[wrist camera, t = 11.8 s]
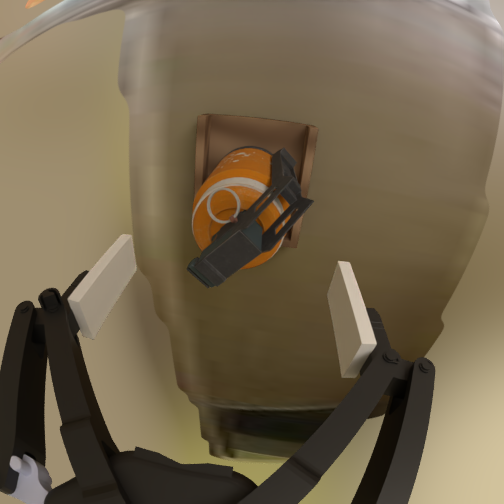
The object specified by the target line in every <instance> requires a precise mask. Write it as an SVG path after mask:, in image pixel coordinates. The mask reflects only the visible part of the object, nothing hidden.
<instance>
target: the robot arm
mask: <svg viewBox="0 0 504 504" xmlns="http://www.w3.org/2000/svg"><path fill="white" fill-rule="evenodd" d="M136 270H137V268H136V261H135V254H134V247H133V240H132V235H126V234H121V236H120V237H119V238H118V239H117V240H116V241H115V242H114V243H113V244H112V246H111V247H110V248H109V249H108V250H107V251H106V252H105V254H104V255H103V256H102V257H101V258H100V259H99V261H98V262H97V263H96V264H95V265H94V266H93V268H92V269H91V270H90V271H87V270H86V271H84V272H83V273H81V274H79V275H78V277H77V278H76V279H75V280H74V282H73V283H72V284H71V286H69V288H68V289H67V290H66V291H65V293H64V294H63V295H62V296H60V293H59V291H58V290H57V289H56V288H49V289H46V290H44V291H43V292H42V293H41V294H40V295H39V298H38V300H39V303H40V305H41V307H42V308H35V307H34V305H33V303H32V302H31V301H24V302H22V303H20V304H19V305H18V306H17V307H16V310H15V312H14V316H13V319H12V323H11V326H10V330H9V334H8V337H7V342H6V346H5V350H4V355H3V360H2V365H1V370H0V491H1V492H3V493H5V494H7V495H9V496H12V497H14V498H17V499H19V500H21V501H23V502H25V503H27V504H298V503H299V502H300V501H301V500H302V499H303V498H304V497H305V496H306V495H307V494H308V493H309V492H310V491H311V490H312V489H313V488H314V487H315V485H316V484H317V483H318V482H319V480H320V479H321V477H322V475H323V474H324V473H325V472H326V471H327V470H328V468H329V467H330V466H331V465H332V464H333V463H334V461H335V460H336V459H337V458H338V457H339V455H340V454H341V453H342V452H343V450H344V449H345V448H346V446H347V445H348V444H349V443H350V441H351V440H352V438H353V437H354V436H355V435H356V433H357V432H358V430H359V429H360V427H361V426H362V425H363V424H364V422H365V421H366V419H367V418H368V416H369V415H370V413H371V412H372V410H373V409H374V407H375V406H376V404H377V403H378V401H379V400H380V398H381V396H382V395H383V394H385V395H389V396H390V399H389V403H388V406H387V410H386V413H385V417H384V420H383V424H382V426H381V430H380V433H379V436H378V439H377V442H376V445H375V447H374V450H373V453H372V456H371V458H370V461H369V463H368V466H367V468H366V471H365V473H364V476H363V478H362V480H361V483H360V485H359V487H358V490H357V492H356V494H355V496H354V498H353V500H352V503H351V504H408V501H409V498H410V495H411V492H412V489H413V486H414V483H415V479H416V476H417V472H418V469H419V465H420V461H421V457H422V453H423V449H424V444H425V440H426V435H427V430H428V424H429V418H430V412H431V405H432V398H433V390H434V379H435V367H434V365H433V363H432V362H431V361H430V360H428V359H427V358H423V357H421V358H418V359H417V360H415V362H414V363H413V362H410V361H406V360H403V359H401V357H400V355H399V354H398V352H396V351H395V350H394V349H391V347H390V344H389V341H388V338H387V335H386V332H385V329H384V326H383V323H382V320H381V318H380V315H379V314H378V312H377V311H376V310H375V309H374V308H365V305H364V302H363V299H362V296H361V293H360V290H359V287H358V284H357V282H356V279H355V276H354V273H353V271H352V268H351V265H350V263H349V262H344V261H338V263H337V266H336V269H335V272H334V275H333V278H332V281H331V285H330V288H329V291H328V294H327V297H328V302H329V307H330V312H331V317H332V322H333V328H334V333H335V339H336V344H337V350H338V356H339V362H340V368H341V375H342V378H356V376H357V375H358V373H359V372H360V375H361V377H360V379H359V380H358V381H357V383H356V384H355V385H354V387H353V388H352V389H351V390H350V392H349V393H348V394H347V396H346V397H345V398H344V399H343V401H342V402H341V403H340V404H339V405H338V407H337V408H336V409H335V410H334V411H333V413H332V414H331V415H330V416H329V417H328V418H327V420H326V421H325V422H324V423H323V424H322V425H321V426H320V428H319V429H318V430H317V431H316V432H315V433H314V434H313V435H312V436H311V437H310V438H309V440H308V441H307V442H306V443H305V444H304V445H303V446H302V447H301V448H300V449H299V450H298V451H297V452H296V453H295V454H294V455H293V456H292V457H291V458H289V459H288V460H287V461H286V462H285V463H284V464H283V465H282V466H281V467H280V468H279V469H278V470H277V471H276V472H274V473H273V474H272V475H271V476H270V477H269V478H268V479H267V480H265V481H264V482H263V483H262V484H261V485H260V486H257V485H256V484H255V483H254V482H253V481H252V480H250V479H249V478H247V477H245V476H244V475H242V474H240V473H238V472H235V471H233V467H230V466H222V465H215V464H209V463H207V464H180V463H178V462H175V461H173V460H172V459H169V458H167V457H165V456H163V455H162V454H160V453H157V452H153V451H150V450H146V449H143V448H139V447H136V448H135V451H124V452H120V451H119V450H118V448H117V446H116V445H115V443H114V442H113V440H112V438H111V436H110V433H109V431H108V429H107V426H106V424H105V421H104V419H103V416H102V413H101V411H100V408H99V405H98V403H97V400H96V397H95V394H94V391H93V388H92V385H91V382H90V379H89V375H88V372H87V369H86V365H85V362H84V358H83V354H82V351H81V346H80V342H79V338H78V336H77V333H78V331H79V330H80V331H81V333H82V336H83V337H86V338H90V339H94V338H95V337H96V335H97V333H98V332H99V330H100V328H101V326H102V325H103V323H104V321H105V319H106V318H107V316H108V315H109V313H110V311H111V310H112V308H113V306H114V305H115V303H116V302H117V300H118V298H119V297H120V295H121V294H122V292H123V290H124V289H125V287H126V285H127V284H128V283H129V281H130V280H131V278H132V276H133V275H134V273H135V272H136ZM47 358H48V359H49V365H50V371H51V376H52V382H53V387H54V392H55V396H56V400H57V404H58V409H59V412H60V416H61V420H62V426H61V427H60V432H61V436H62V439H63V442H64V445H65V448H66V451H67V454H68V457H69V460H70V462H71V465H72V468H73V470H74V473H75V475H76V477H74V478H72V479H71V480H69V481H67V482H65V483H63V484H61V485H59V486H57V487H55V488H54V489H52V488H51V484H52V479H51V477H50V476H49V473H48V471H47V469H46V468H45V460H46V451H45V450H46V448H45V428H44V427H45V425H44V404H45V402H44V401H45V381H46V368H47Z"/></svg>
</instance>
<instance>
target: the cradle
mask: <svg viewBox="0 0 504 504" xmlns="http://www.w3.org/2000/svg"><path fill="white" fill-rule="evenodd" d="M317 135H318V128H316V127H315V126H312V125H306V124H300V123H294V122H287V121H280V120H272V119H264V118H254V117H244V116H232V115H217V114H203V115H199V116H198V120H197V137H196V157H195V185H194V199H195V197H196V194H197V192H198V191H199V189H200V188H201V186H202V185H203V184H204V182H205V181H206V180H207V178H208V177H209V176H210V174H211V173H212V172H213V170H214V169H215V168H216V167H217V165H218V164H219V163H220V161H221V160H222V159H223V158H224V157H225V156H226V155H227V154H228V153H229V152H231V151H232V150H234V149H236V148H239V147H244V146H257V147H261V148H264V149H266V150H268V151H269V152H271V153H272V154H274V153H276V152H277V151H279V150H280V149H282V148H285V149H286V150H287V152H288V153H289V154H290V155H291V156H292V157H293V158H294V160H295V161H296V162H297V163H296V165H295V166H294V171H295V174H296V178H297V181H298V183H299V184H300V187H301V190H302V192H301V195H302V197H304V198H307V193H308V188H309V182H310V177H311V171H312V165H313V159H314V154H315V148H316V141H317ZM289 206H290V205H289ZM297 210H298V209H295V210H294V211H293V212H292V213H291V215H290V218H291V217H292V215H293V214H294V213H295V212H296V211H297ZM302 219H303V215H302V216H301V217H300V218H299V219H298V220H297V222H296V223H295V224H294V225H293V226H292V227H291V228H290V230H289V231H288V232H287V233H286V235H285V237H284V239H283V242H282V244H281V246H283V247H291V248H297V244H298V239H299V234H300V229H301V224H302Z"/></svg>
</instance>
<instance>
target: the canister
mask: <svg viewBox="0 0 504 504" xmlns="http://www.w3.org/2000/svg"><path fill="white" fill-rule="evenodd" d="M296 163H297V162H296V161H295V160H294V158H293V157H292V156H291V155H290V154H289V153H288V152H287V150H286V149H285V148H282V149H280V150H279V151H277V152H276V153H274V154H272V153H271V152H269V151H268V150H266V149H264V148H261V147H257V146H244V147H239V148H236V149H234V150H232V151H231V152H229V153H228V154H227V155H226V156H225V157H224V158H223V159H222V160H221V161H220V163H219V164H218V165H217V167H216V168H215V169H214V170H213V172H212V173H211V174H210V176H209V177H208V178H207V180H206V181H205V182H204V184H203V185H202V186H201V188H200V189H199V191H198V192H197V194H196V197H195V199H194V203H193V212H192V214H193V216H192V232H193V235H194V238H195V240H196V242H197V244H198V246H199V248H200V249H201V251H202V254H201V256H200V258H198V257H197V258H194V259H193V260H192V261H191V262H190V263H189V265H188V267H187V270H188V271H189V272H190V273H191V274H192V275H193V276H194V277H196V278H197V279H198V280H199V281H200V282H201V283H202V284H204V285H205V286H206V287H207V288H209V286H210V287H211V288H212V287H214V286H219V285H220V284H222V283H223V282H224V281H225V280H226V279H227V278H228V277H230V276H231V275H232V274H234V273H235V272H237V271H238V270H239V269H247V268H252V267H256V266H258V265H260V264H262V263H264V262H266V261H267V260H269V259H270V258H271V257H272V256H273V255H274V254H275V253H276V252H277V251H278V249H279V248H280V246H281V244H282V242H283V239H284V237H285V235H286V233H287V232H288V231H289V230H290V228H291V227H292V226H293V225H294V224H295V223H296V222H297V220H298V219H299V218H300V217H301V216H302V215H303V214H304V212H305V211H306V210H307V209H308V208H309V207H310V206H311V204H312V203H313V202H314V201H313V200H310V199H307V198H304V197H302V195H301V192H302V190H301V187H300V184H299V183H298V181H297V178H296V174H295V171H294V166H295V165H296ZM289 205H290V206H289ZM295 209H298V210H297V211H296V212H295V213H294V214H293V215H292V217H291V218H290V215H291V213H292V212H293V211H294V210H295Z"/></svg>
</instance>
